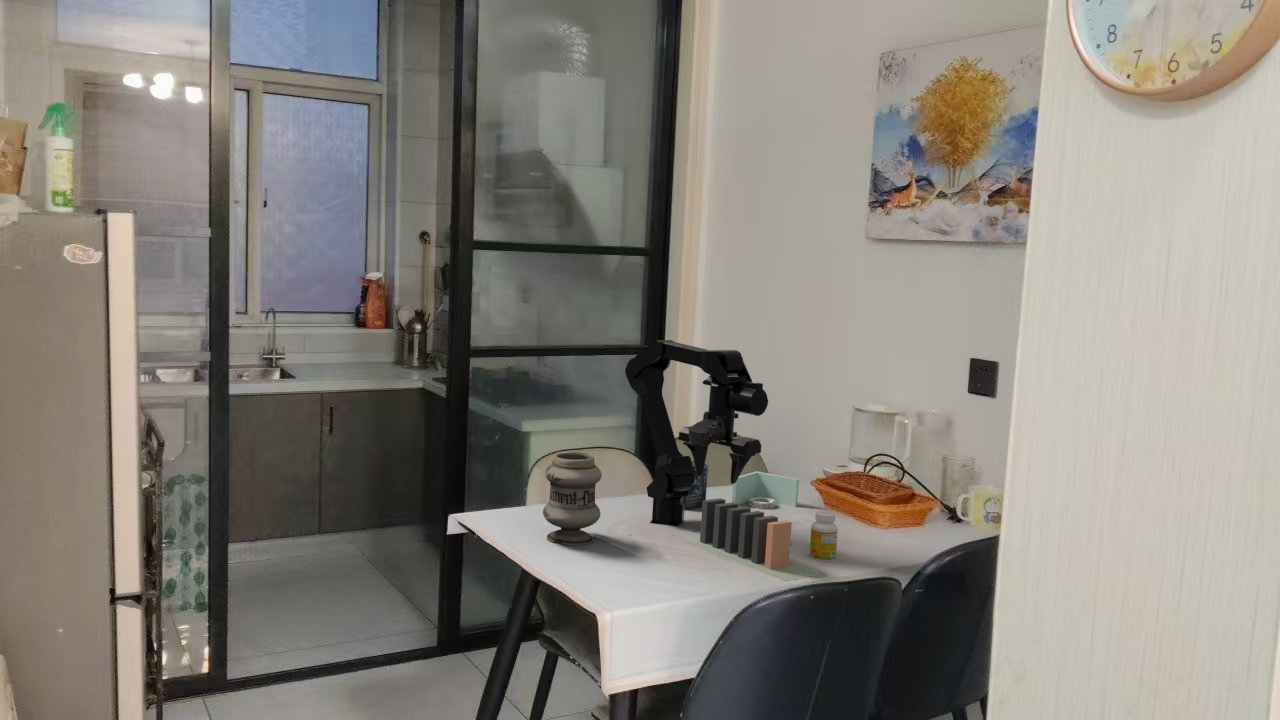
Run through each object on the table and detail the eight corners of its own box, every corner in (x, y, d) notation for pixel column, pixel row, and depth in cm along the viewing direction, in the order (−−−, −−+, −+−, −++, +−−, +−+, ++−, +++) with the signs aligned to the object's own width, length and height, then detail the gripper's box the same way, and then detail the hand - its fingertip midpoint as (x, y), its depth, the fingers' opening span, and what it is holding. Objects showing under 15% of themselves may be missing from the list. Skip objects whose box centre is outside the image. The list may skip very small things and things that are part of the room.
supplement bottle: (806, 555, 220) (809, 509, 219) (831, 555, 220) (834, 510, 219) (812, 562, 215) (816, 516, 214) (838, 563, 215) (841, 517, 214)
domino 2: (712, 546, 220) (715, 504, 219) (730, 543, 223) (733, 502, 222) (717, 548, 219) (720, 506, 218) (735, 545, 222) (738, 504, 221)
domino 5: (751, 562, 211) (754, 518, 210) (769, 558, 214) (772, 515, 213) (756, 564, 209) (759, 519, 208) (774, 560, 212) (777, 517, 211)
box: (684, 510, 253) (687, 467, 252) (667, 505, 257) (670, 462, 256) (706, 506, 258) (708, 464, 257) (689, 501, 262) (692, 459, 261)
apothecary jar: (531, 541, 218) (535, 455, 216) (557, 528, 229) (561, 447, 228) (584, 550, 214) (589, 463, 212) (607, 536, 225) (612, 454, 223)
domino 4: (737, 556, 214) (740, 513, 213) (755, 553, 217) (758, 510, 216) (742, 558, 213) (745, 515, 212) (761, 555, 215) (764, 512, 215)
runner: (685, 543, 223) (685, 541, 223) (721, 538, 229) (721, 536, 229) (784, 583, 199) (785, 581, 199) (821, 576, 205) (822, 574, 205)
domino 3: (724, 551, 217) (727, 508, 216) (742, 548, 220) (745, 506, 219) (729, 553, 216) (732, 510, 215) (747, 550, 219) (750, 508, 218)
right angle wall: (731, 507, 261) (733, 477, 260) (754, 500, 271) (756, 471, 270) (774, 516, 254) (776, 486, 253) (796, 508, 264) (799, 479, 263)
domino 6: (764, 567, 207) (767, 522, 206) (782, 564, 210) (786, 520, 209) (770, 569, 206) (773, 524, 205) (788, 566, 209) (791, 522, 208)
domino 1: (700, 541, 223) (702, 500, 222) (717, 539, 226) (720, 498, 225) (704, 543, 222) (707, 502, 221) (722, 541, 225) (725, 499, 224)
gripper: (664, 403, 226) (659, 474, 228) (733, 418, 214) (727, 493, 216) (697, 400, 235) (692, 469, 236) (765, 414, 222) (759, 486, 224)
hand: (716, 479), depth 228 cm, fingers open, 9 cm apart
